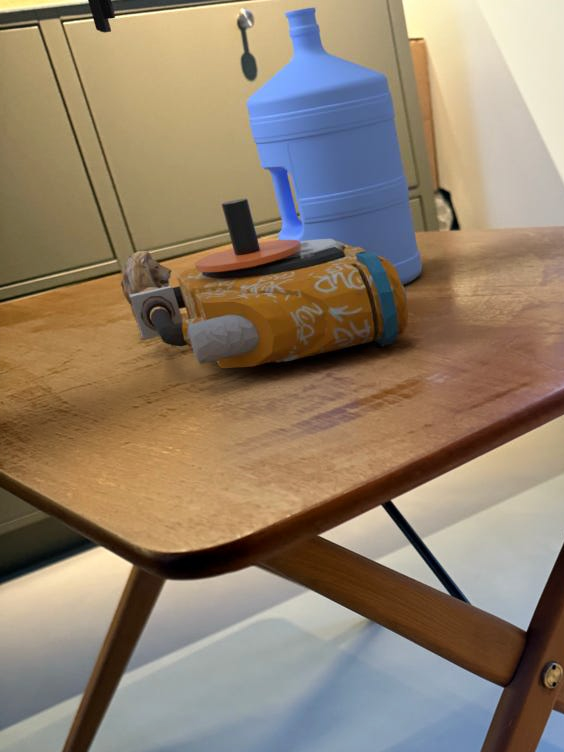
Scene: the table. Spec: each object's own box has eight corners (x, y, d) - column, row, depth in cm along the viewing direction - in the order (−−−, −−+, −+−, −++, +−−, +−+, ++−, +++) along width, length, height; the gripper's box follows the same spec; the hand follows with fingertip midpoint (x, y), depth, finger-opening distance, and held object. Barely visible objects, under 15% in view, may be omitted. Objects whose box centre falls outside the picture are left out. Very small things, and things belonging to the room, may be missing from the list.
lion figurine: (191, 333, 114) (166, 247, 109) (143, 345, 112) (115, 259, 108) (170, 313, 126) (146, 235, 121) (126, 324, 124) (100, 245, 120)
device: (141, 313, 83) (118, 266, 108) (172, 412, 87) (144, 345, 112) (407, 250, 88) (327, 219, 113) (425, 347, 92) (344, 297, 117)
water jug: (435, 263, 127) (390, -4, 113) (406, 294, 114) (350, -4, 100) (315, 279, 130) (257, 22, 116) (273, 310, 117) (201, 25, 103)
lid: (192, 278, 93) (175, 218, 91) (200, 260, 102) (185, 205, 100) (302, 256, 94) (288, 196, 92) (300, 240, 103) (287, 185, 100)
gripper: (89, -242, 77) (158, 25, 85) (-151, -208, 75) (-57, 60, 84) (72, -271, 70) (148, 21, 79) (-192, -235, 69) (-85, 59, 77)
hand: (42, 41), depth 81 cm, fingers open, 9 cm apart
